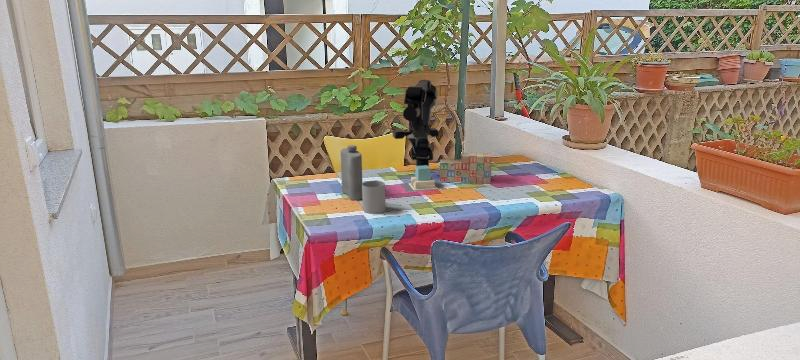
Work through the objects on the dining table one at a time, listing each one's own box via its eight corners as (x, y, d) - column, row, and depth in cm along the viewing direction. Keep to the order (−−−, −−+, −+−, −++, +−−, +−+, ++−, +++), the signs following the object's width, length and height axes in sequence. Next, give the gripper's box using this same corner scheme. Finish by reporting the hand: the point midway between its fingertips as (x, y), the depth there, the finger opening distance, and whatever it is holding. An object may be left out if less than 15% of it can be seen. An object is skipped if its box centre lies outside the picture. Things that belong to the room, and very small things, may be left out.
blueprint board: (400, 185, 242) (400, 183, 242) (437, 183, 245) (437, 180, 245) (407, 194, 231) (407, 191, 231) (445, 191, 234) (445, 188, 234)
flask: (366, 199, 225) (365, 149, 219) (352, 201, 223) (350, 150, 217) (354, 189, 238) (352, 141, 233) (340, 190, 236) (338, 142, 230)
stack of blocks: (439, 184, 244) (439, 155, 241) (439, 180, 250) (439, 152, 247) (490, 184, 243) (491, 156, 239) (489, 180, 249) (490, 152, 245)
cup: (362, 206, 216) (361, 181, 214) (384, 206, 217) (384, 180, 214) (363, 214, 208) (362, 187, 206) (386, 213, 209) (385, 186, 206)
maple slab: (411, 184, 241) (411, 177, 240) (429, 182, 242) (429, 175, 242) (415, 189, 233) (415, 182, 232) (434, 188, 235) (434, 180, 234)
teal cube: (415, 177, 239) (415, 166, 237) (427, 177, 240) (427, 165, 238) (418, 181, 234) (418, 169, 233) (430, 180, 235) (430, 168, 234)
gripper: (397, 121, 232) (398, 159, 237) (442, 119, 236) (442, 156, 240) (392, 116, 243) (392, 153, 247) (435, 114, 247) (435, 150, 251)
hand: (415, 153), depth 246 cm, fingers closed
